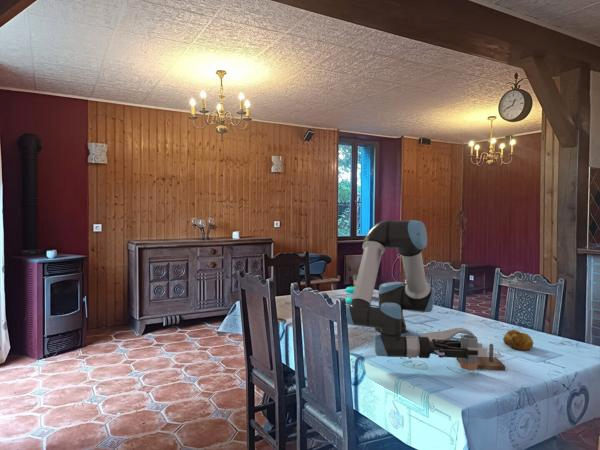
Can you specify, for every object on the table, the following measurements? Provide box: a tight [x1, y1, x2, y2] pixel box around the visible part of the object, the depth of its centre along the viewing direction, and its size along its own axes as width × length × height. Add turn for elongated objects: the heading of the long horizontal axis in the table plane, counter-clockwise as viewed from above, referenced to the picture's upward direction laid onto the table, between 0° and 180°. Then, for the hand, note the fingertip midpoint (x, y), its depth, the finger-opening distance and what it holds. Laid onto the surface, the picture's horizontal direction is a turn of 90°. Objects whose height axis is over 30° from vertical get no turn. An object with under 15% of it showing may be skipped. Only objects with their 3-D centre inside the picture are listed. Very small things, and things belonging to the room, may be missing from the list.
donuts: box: [345, 286, 355, 304], centre depth 272 cm, size 10×10×10 cm
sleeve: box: [459, 334, 478, 371], centre depth 154 cm, size 5×5×11 cm
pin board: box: [455, 343, 507, 371], centre depth 162 cm, size 15×10×8 cm, turn 83°
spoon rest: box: [421, 327, 479, 343], centre depth 187 cm, size 24×12×7 cm, turn 88°
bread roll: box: [502, 329, 534, 351], centre depth 184 cm, size 13×10×8 cm
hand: (484, 349), depth 153 cm, fingers closed on sleeve, 5 cm apart
